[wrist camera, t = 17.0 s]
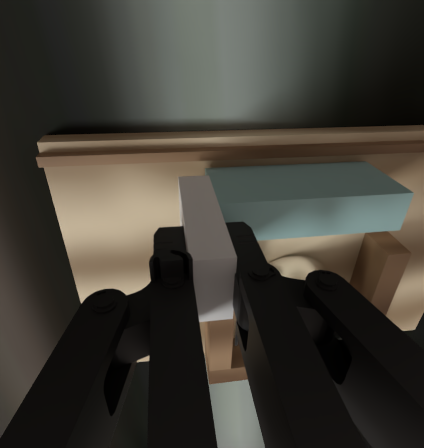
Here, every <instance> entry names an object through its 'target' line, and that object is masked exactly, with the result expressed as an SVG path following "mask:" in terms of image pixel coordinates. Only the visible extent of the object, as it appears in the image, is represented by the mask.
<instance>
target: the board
mask: <svg viewBox="0 0 424 448" xmlns="http://www.w3.org/2000/svg"><path fill="white" fill-rule="evenodd" d="M37 145H38V148H39V152H40V153H39V154H38V155H37V157H36V160H37V163H38V167H44V170H45V174H46V177H47V181H48V185H49V188H50V192H51V195H52V199H53V203H54V206H55V210H56V214H57V217H58V221H59V225H60V228H61V232H62V235H63V239H64V243H65V246H66V250H67V254H68V257H69V261H70V264H71V268H72V272H73V275H74V279H75V283H76V286H77V290H78V294H79V297H80V301H81V304H82V302H83V301H84V300H85V299H86V298H87V297H88V296H89V295H91V294H92V293H94V292H96V291H99V290H102V289H112V288H113V289H117V290H121V291H122V292H123V293H125V294H126V295H129V294H132V293H135V292H137V291H140V290H142V289H143V288H145V287H146V286H147V285H148V284H149V283H150V281H151V279H150V269H149V260H150V257H151V256H152V255H153V244H154V243H153V240H154V234H155V232H156V231H157V229H158V228H159V227H175V226H180V210H179V186H178V177H181V176H205V168H218V167H242V166H266V165H289V164H313V163H337V162H361V161H366V162H368V163H369V164H371V165H372V166H374V167H375V168H377V169H378V170H380V171H381V172H383V173H385V174H386V175H388V176H389V177H391V178H392V179H394V180H395V181H397V182H398V183H400V184H401V185H403V186H404V187H406V188H407V189H409V190H411V191H412V192H414V195H413V197H412V200H411V203H410V205H409V208H408V211H407V213H406V216H405V219H404V221H403V224H402V226H401V229H400V230H396V231H383V232H369V233H355V234H342V235H328V236H314V237H300V238H287V239H273V240H259V241H257V242H258V243H259V245H260V248H261V250H262V252H263V254H264V256H265V258H266V261H267V263H270V262H272V261H274V260H276V259H279V258H282V257H286V256H292V255H303V256H308V257H312V258H314V259H316V260H318V261H319V262H321V263H322V264H323V265H324V266H325V267H326V269H327V270H328V271H331V272H334V273H336V274H338V275H340V276H341V277H343V278H344V279H345V280H346V281H347V282H348V283H350V284H351V285H352V286H353V287H354V288H355V289H356V290H357V291H359V292H360V293H361V294H362V295H363V296H364V297H365V298H366V299H367V300H369V301H370V302H371V303H372V304H373V305H374V306H375V307H376V308H377V309H379V310H380V311H381V312H382V313H383V314H384V315H385V316H386V317H388V318H389V319H390V320H391V321H392V322H393V323H394V324H395V325H396V326H398V327H399V328H400V329H401V330H402V331H407V330H415V328H416V326H417V324H418V322H419V320H420V318H421V316H422V314H423V312H424V125H407V126H370V127H333V128H296V129H259V130H222V131H185V132H148V133H111V134H74V135H44V136H43V137H42V138H41V139H40V140H39V141H38V142H37ZM199 323H200V330H201V337H202V344H203V351H204V354H205V358H206V365H207V372H208V379H209V384H215V383H223V382H231V381H239V380H246V379H248V377H247V373H246V369H245V365H244V361H243V357H242V353H241V350H240V346H239V342H238V346H235V329H236V316H235V312H234V310H233V319H226V320H216V321H206V322H199ZM142 361H149V356H147V357H144V358H142V359H140V360H137V362H142Z"/></svg>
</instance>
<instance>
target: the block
mask: <svg viewBox="0 0 424 448" xmlns="http://www.w3.org/2000/svg"><path fill="white" fill-rule="evenodd" d="M205 175H209V177H210V180H211V183H212V186H213V189H214V192H215V194H216V197H217V200H218V203H219V206H220V209H221V212H222V215H223V218H224V221H225V223H227V222H245V223H246V224H247V225H248V226H250V227H251V228H252V230H253V233H254V235H255V237H256V239H257V241H259V240H273V239H287V238H300V237H314V236H328V235H342V234H355V233H369V232H383V231H396V230H400V229H401V226H402V224H403V221H404V219H405V216H406V213H407V211H408V208H409V205H410V203H411V200H412V197H413V195H414V192H412V191H411V190H409V189H407V188H406V187H404V186H403V185H401V184H400V183H398V182H397V181H395V180H394V179H392V178H391V177H389V176H388V175H386V174H385V173H383V172H381V171H380V170H378V169H377V168H375V167H374V166H372V165H371V164H369V163H368V162H366V161H361V162H337V163H313V164H289V165H266V166H242V167H218V168H205Z"/></svg>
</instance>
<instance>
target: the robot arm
mask: <svg viewBox="0 0 424 448" xmlns="http://www.w3.org/2000/svg"><path fill="white" fill-rule="evenodd" d="M178 186H179V210H180V226H175V227H159V228H158V229H157V231H156V232H155V234H154V240H153V243H154V244H153V255H152V256H151V257H150V260H149V269H150V279H151V281H150V283H149V284H148V285H147V286H146V287H145V288H143V289H142V290H140V291H137V292H135V293H132V294H129V295H126V294H125V293H123V292H122V291H121V290H117V289H113V288H112V289H102V290H99V291H96V292H94V293H92V294H91V295H89V296H88V297H87V298H86V299H85V300H84V301H83V302H82V304H81V305H80V307H79V309H78V310H77V312H76V314H75V315H74V317H73V319H72V320H71V322H70V324H69V325H68V327H67V329H66V330H65V332H64V334H63V335H62V337H61V339H60V340H59V342H58V344H57V345H56V347H55V349H54V350H53V352H52V354H51V355H50V357H49V358H48V360H47V362H46V363H45V365H44V367H43V368H42V370H41V372H40V373H39V375H38V377H37V378H36V380H35V382H34V383H33V385H32V387H31V388H30V390H29V392H28V393H27V395H26V397H25V398H24V400H23V402H22V403H21V405H20V407H19V408H18V410H17V412H16V413H15V415H14V417H13V418H12V420H11V422H10V423H9V425H8V427H7V428H6V430H5V432H4V433H3V435H2V437H1V438H0V448H109V446H110V443H111V440H112V437H113V434H114V431H115V428H116V425H117V422H118V419H119V416H120V413H121V409H122V406H123V403H124V400H125V397H126V394H127V391H128V388H129V385H130V382H131V379H132V376H133V373H134V370H135V367H136V364H137V360H140V359H142V358H144V357H147V356H149V397H148V443H147V448H217V441H216V434H215V427H214V420H213V413H212V406H211V399H210V392H209V386H208V379H207V372H206V365H205V358H204V351H203V344H202V337H201V330H200V323H199V322H206V321H216V320H226V319H233V310H234V312H235V316H236V329H235V346H238V342H239V346H240V350H241V353H242V357H243V361H244V365H245V369H246V373H247V377H248V381H249V385H250V389H251V393H252V397H253V401H254V405H255V409H256V413H257V417H258V420H259V424H260V428H261V432H262V436H263V440H264V444H265V448H366V447H365V445H364V443H363V441H362V439H361V437H360V434H359V432H358V430H357V428H358V429H359V430H360V432H361V433H362V434H363V436H364V437H365V438H366V440H367V441H368V443H369V444H370V445H371V447H372V448H424V350H423V349H422V348H421V347H420V346H419V345H418V344H417V343H415V342H414V341H413V340H412V339H411V338H410V337H409V336H408V335H406V334H405V333H404V332H403V331H402V330H401V329H400V328H399V327H398V326H396V325H395V324H394V323H393V322H392V321H391V320H390V319H389V318H388V317H386V316H385V315H384V314H383V313H382V312H381V311H380V310H379V309H377V308H376V307H375V306H374V305H373V304H372V303H371V302H370V301H369V300H367V299H366V298H365V297H364V296H363V295H362V294H361V293H360V292H359V291H357V290H356V289H355V288H354V287H353V286H352V285H351V284H350V283H348V282H347V281H346V280H345V279H344V278H343V277H341V276H340V275H338V274H336V273H334V272H331V271H327V270H314V271H312V272H310V273H308V275H307V276H306V279H305V280H300V279H294V278H288V277H284V276H282V275H281V274H280V272H279V271H278V270H277V268H276V267H274V266H273V265H271V264H269V263H267V261H266V258H265V256H264V254H263V252H262V250H261V248H260V245H259V243H258V242H257V239H256V237H255V235H254V233H253V230H252V228H251V227H250V226H248V225H247V224H246V223H245V222H227V223H225V221H224V218H223V215H222V212H221V209H220V206H219V203H218V200H217V197H216V194H215V192H214V189H213V186H212V183H211V180H210V177H209V175H205V176H181V177H178ZM355 425H356V426H357V428H356V426H355Z"/></svg>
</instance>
